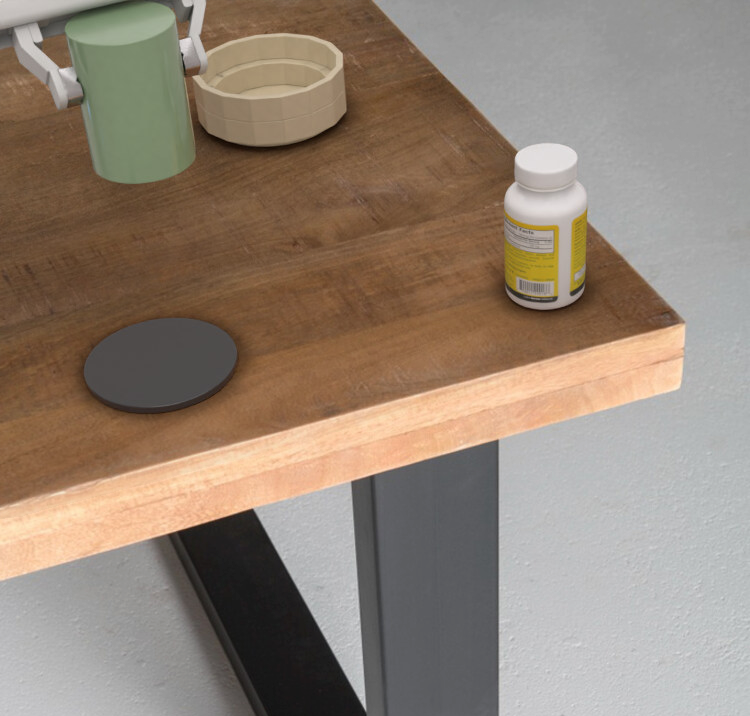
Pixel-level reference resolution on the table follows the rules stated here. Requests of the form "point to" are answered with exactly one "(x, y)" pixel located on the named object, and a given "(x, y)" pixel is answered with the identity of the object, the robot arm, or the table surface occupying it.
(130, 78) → the sage green cylinder
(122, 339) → the slate coaster
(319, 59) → the cream bowl
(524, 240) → the supplement bottle
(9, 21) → the robot arm
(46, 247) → the table surface
